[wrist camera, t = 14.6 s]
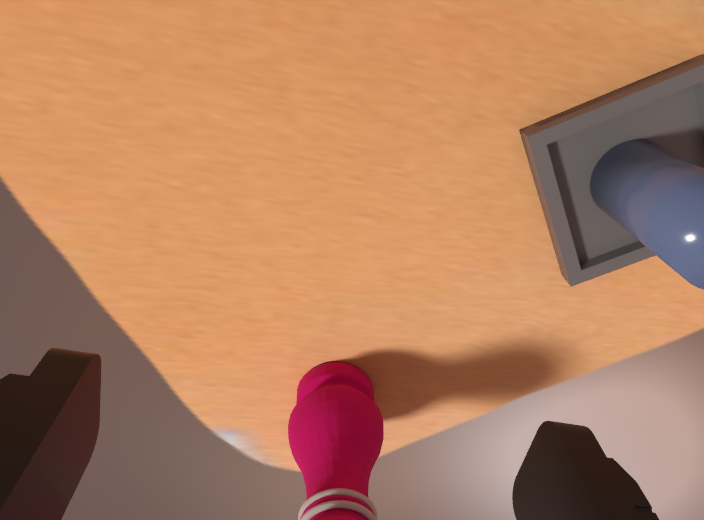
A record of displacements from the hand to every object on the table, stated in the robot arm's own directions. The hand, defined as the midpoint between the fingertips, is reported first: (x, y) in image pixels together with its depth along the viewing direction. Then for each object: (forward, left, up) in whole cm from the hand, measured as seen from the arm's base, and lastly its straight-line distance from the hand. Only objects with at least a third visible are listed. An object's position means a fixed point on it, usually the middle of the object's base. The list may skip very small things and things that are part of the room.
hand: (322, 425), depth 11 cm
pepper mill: (+22, -9, -30) cm, 38 cm away
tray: (+13, +17, -30) cm, 37 cm away
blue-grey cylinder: (+13, +17, -29) cm, 36 cm away
